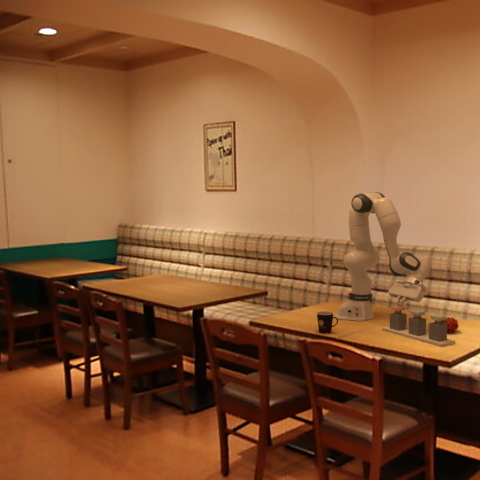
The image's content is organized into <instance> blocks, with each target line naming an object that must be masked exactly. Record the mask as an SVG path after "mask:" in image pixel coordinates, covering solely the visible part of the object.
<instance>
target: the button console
mask: <svg viewBox="0 0 480 480" xmlns="http://www.w3.org/2000/svg"><path fill="white" fill-rule="evenodd" d="M407 316H408V315H407V313H405V312H402V314H400V315H397V314H395V312H391V313H389V326H385V327H384V326H383V327H382V328H381V332H382V331H383V332H385V333H388V334H389V333H390V334H393V335H397V336H400V337H404V338H407V339H411V340H415V341H418V342H422V343H425V344H429V345H433V346H436V347H440V348H443V347H448V346H451V345H455V344H456V340H455V339H450V338H448V333H447V323H443V322H442V324H439V325H438V324H434V322H435V321H433V322H428V332H427V318H425V317H422V316H421V319H414V316H412V317H411V316H410V317H407ZM407 318H408V320H407ZM407 321H408V322H407ZM407 323H408V324H407ZM407 325H408V327H407Z"/></svg>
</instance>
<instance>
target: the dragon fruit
mask: <svg viewBox="0 0 480 480" xmlns="http://www.w3.org/2000/svg"><path fill="white" fill-rule="evenodd" d="M442 322H443V323H447V334H448V333H452V334H453V333H456V332H457V330H458V329H459V327H460V325H459V324H458V322H459V321H458V320H457V319H455V318H454V317H448V316H447V317H446V320H442Z"/></svg>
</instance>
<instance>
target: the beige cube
mask: <svg viewBox="0 0 480 480" xmlns="http://www.w3.org/2000/svg"><path fill="white" fill-rule="evenodd" d="M409 314H410V315H411V316H413V317H414V319H421V317H422V316H425V315H426V311H425V310H420V309H414V310H413V309H412V310H410V311H409Z"/></svg>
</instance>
